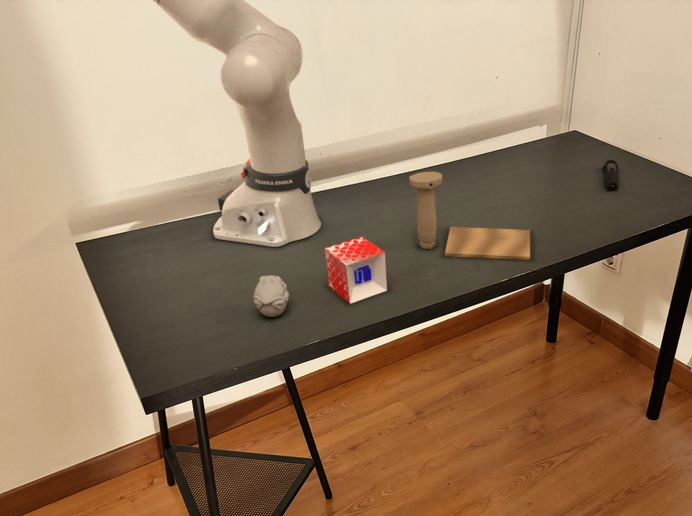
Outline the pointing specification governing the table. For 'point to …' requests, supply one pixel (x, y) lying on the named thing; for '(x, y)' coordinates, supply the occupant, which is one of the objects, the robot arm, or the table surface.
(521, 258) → the oak board
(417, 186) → the handle
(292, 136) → the robot arm
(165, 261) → the table surface
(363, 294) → the red and white cube
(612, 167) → the electric trimmer
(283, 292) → the frog figurine
